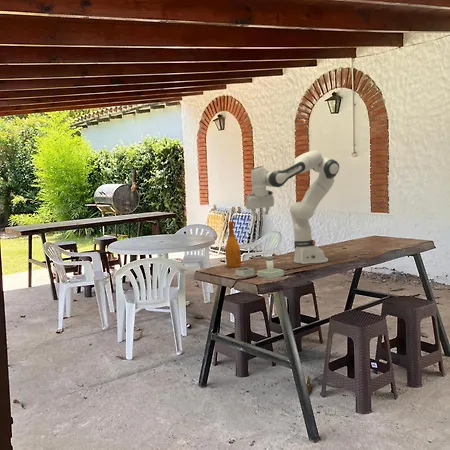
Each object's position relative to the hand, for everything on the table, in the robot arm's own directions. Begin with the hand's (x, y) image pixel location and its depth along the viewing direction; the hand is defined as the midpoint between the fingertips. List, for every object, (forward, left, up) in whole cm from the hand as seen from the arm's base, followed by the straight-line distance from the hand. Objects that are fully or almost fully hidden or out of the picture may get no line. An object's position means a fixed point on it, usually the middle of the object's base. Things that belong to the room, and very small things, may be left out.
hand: (260, 215), depth 317 cm
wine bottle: (+22, -14, -34) cm, 43 cm away
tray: (-6, +20, -34) cm, 40 cm away
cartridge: (-6, +20, -34) cm, 39 cm away
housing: (+10, +15, -34) cm, 39 cm away
